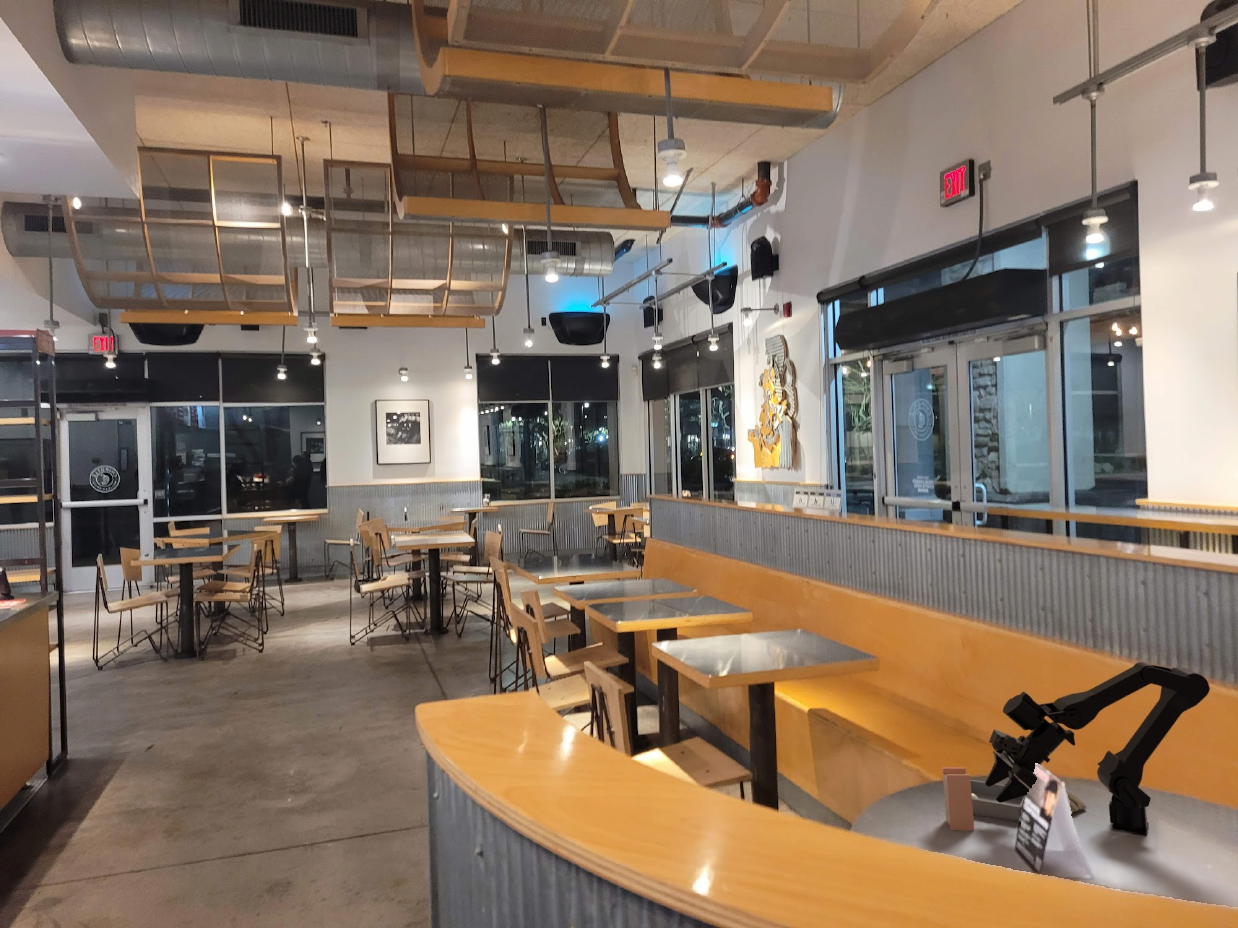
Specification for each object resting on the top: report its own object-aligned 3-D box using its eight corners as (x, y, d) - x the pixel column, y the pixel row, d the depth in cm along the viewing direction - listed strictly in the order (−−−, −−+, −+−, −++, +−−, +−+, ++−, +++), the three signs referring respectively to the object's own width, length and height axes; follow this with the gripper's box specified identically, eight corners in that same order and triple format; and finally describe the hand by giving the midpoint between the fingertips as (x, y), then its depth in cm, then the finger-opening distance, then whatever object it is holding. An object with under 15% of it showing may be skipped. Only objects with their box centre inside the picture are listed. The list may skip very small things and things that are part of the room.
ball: (979, 798, 194) (981, 808, 191) (966, 800, 195) (968, 810, 192) (975, 789, 193) (977, 799, 190) (962, 791, 194) (964, 801, 191)
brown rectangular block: (968, 820, 186) (964, 767, 186) (974, 830, 181) (970, 775, 182) (946, 820, 187) (942, 767, 187) (951, 829, 182) (946, 775, 182)
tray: (1032, 803, 193) (1031, 788, 193) (1022, 822, 183) (1021, 807, 183) (965, 792, 202) (964, 778, 202) (953, 810, 192) (952, 795, 192)
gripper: (999, 707, 192) (954, 753, 193) (1023, 731, 173) (973, 783, 175) (1037, 740, 190) (991, 786, 192) (1065, 768, 172) (1015, 819, 173)
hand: (991, 792), depth 183 cm, fingers open, 9 cm apart
